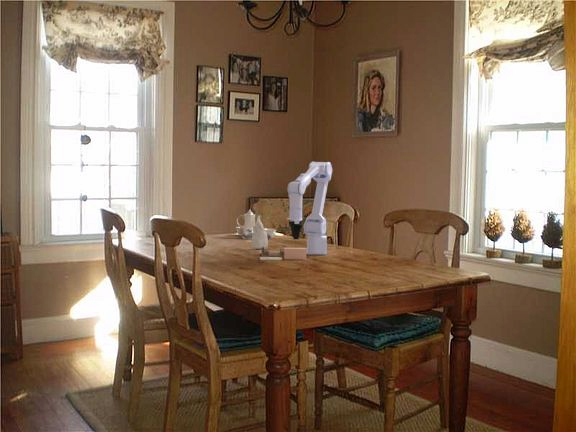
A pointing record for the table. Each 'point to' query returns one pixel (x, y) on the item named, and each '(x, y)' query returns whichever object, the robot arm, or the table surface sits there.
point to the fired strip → (270, 258)
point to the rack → (266, 253)
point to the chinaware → (251, 227)
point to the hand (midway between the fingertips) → (295, 238)
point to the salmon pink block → (295, 253)
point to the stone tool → (259, 236)
